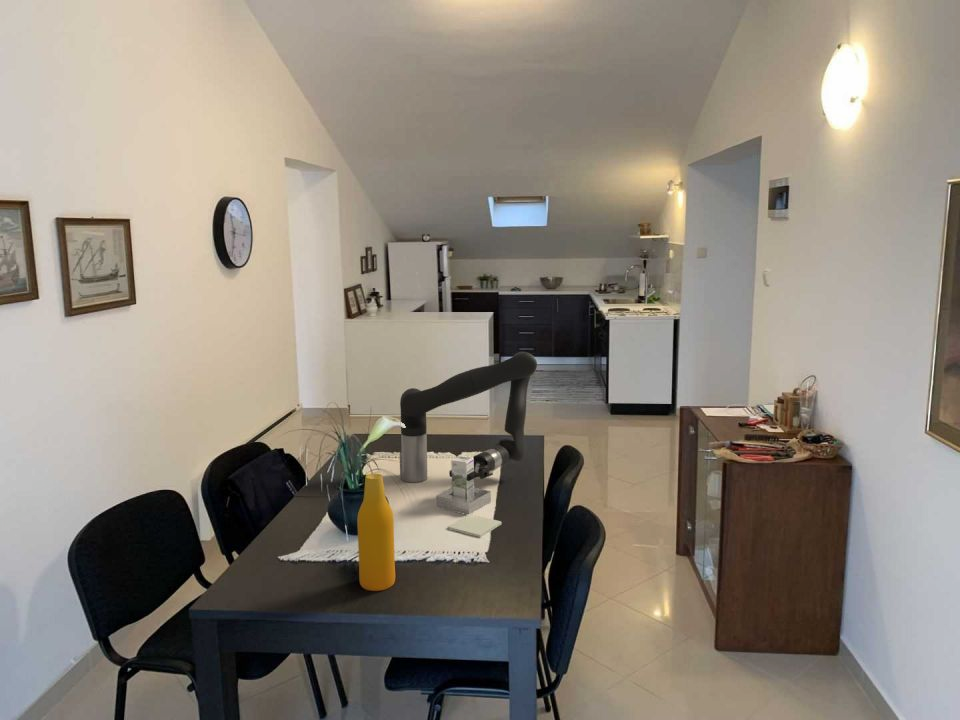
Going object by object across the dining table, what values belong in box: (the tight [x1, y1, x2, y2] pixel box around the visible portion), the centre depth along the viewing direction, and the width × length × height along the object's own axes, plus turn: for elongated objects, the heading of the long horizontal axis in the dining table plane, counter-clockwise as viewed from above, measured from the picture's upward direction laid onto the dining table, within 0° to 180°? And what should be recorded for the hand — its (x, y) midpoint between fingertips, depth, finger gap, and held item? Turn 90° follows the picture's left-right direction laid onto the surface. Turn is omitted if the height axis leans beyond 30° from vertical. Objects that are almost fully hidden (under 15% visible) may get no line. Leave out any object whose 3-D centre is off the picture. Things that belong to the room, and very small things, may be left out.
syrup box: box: [450, 455, 475, 499], centre depth 241 cm, size 6×6×14 cm
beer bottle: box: [356, 473, 396, 592], centre depth 187 cm, size 9×9×29 cm
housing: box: [435, 487, 492, 515], centre depth 243 cm, size 13×13×4 cm
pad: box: [447, 513, 503, 538], centre depth 225 cm, size 12×12×1 cm
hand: (459, 476), depth 239 cm, fingers closed on syrup box, 6 cm apart
